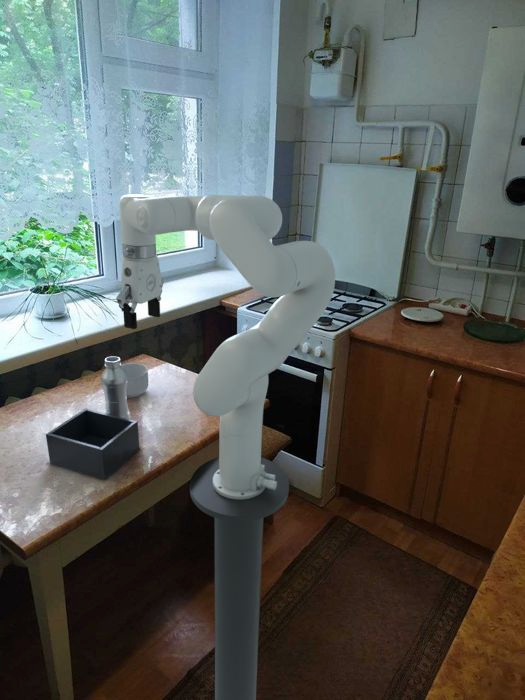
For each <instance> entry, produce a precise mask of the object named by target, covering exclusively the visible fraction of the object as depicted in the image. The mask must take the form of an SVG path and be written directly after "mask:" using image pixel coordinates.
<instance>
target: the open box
mask: <svg viewBox="0 0 525 700" xmlns="http://www.w3.org/2000/svg"><path fill="white" fill-rule="evenodd" d="M45 439H46V445H47V451H48V452H47V453H48V458H49V464H51V465H54V466H57V467H60V468H63V469H67V470H71V471H74V472H77V473H81V474H83V475H87V476H89V477H94V478H97V479H100V480H103V481H105V480H106V479H108V478H109V477H110V476H112V475H113V473H115V472H116V471H117V470H118V469H119V468H120V467H121V466H123V464H125V463H126V462H127V461H128V460H130V458H131V457H133V455H135V454H136V453H138V451H139V450H140V436H139V422H138V421H137V420H134V419H131V420H130V419H126V418H122V417H118V416H114V415H110V414H106V412H101V411H98V410H93V409H89V408H84V409H81V411H78V413H76V414H75V415H73V416H71V417H70V418H68V419H67V420H65V421H63V422H62V423H60V424H59V425H57V426H56V427H54V428H53V429H52V430H50V431H49V432H47V433H46V434H45Z"/></svg>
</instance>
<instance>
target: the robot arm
mask: <svg viewBox="0 0 525 700" xmlns="http://www.w3.org/2000/svg"><path fill="white" fill-rule="evenodd" d="M119 219H120V235H121V236H120V237H121V250H122V261H121V263H122V264H121V291H119V293H118V294H117V296H115V297H116V298H115V300H116V302H117V304H118V307H119V308H120V309H121V312H122V313H123V326H124V328H125V329H126V328H127V329H132V330H137V329H138V320H137V319H138V317H137V316H138V315H137V312H135V311H136V308H137V306H138V304H140V305H141V304H142V305H143V304H144V303H145V304H146V303H147V315H148V316H149V317H155V318H160V317H161V301H162V297H161V296H162V293H163V285H164V280H163V279H162V274H161V266H160V261H159V258H158V255H157V237H156V236H158V235H166V234H170V233H171V234H172V233H177V232H186V231H191V232H193V231H194V232H199V234H200V235H201V236H202V237H204V239H206V240H211V241H215V243H216V244H217V246H218V247H219V248H220V250H221V251H222V253H223V254H224V255H225V257H226V258H227V259H228V260H229V261H230V262H231V264H232V265H233V266H234V267H235V269H236V270H237V271H238V272H239V274H240V275H241V276H242V277H243V279H244V280H245V281H246V282H247V283H248V284H249V286H250V287H251V288H252V289H253V290H255V291H256V292H257V293H258V294H260V295H261V296H264V297H267V298H278V299H276V301H274V303H272V305H271V306H270V307H269V308H268V310H267V312H266V313H265V315H264V316H263V317H262V318H261V319H260V321H259V322H257V323H256V324H255V325H254V326H252V327H250V328H248V329H246V330H244V331H241V332H239V333H237V334H235V335H232V336H230V337H228V338H227V339H225V340H224V341H223V342H221V344H220V345H219V346H218V347H217V348H216V349H215V351H213V353H212V355H211V356H210V357H209V359H208V360H207V362H206V363H205V365H204V366H203V368H202V369H201V371H200V372H199V373H198V375H197V377H196V378H195V380H194V384H193V390H192V395H193V401H194V403H195V405H196V407H197V408H198V409H199V410H200V411H201V413H203V414H205V415H207V416H209V417H214V418H216V417H219V429H218V432H219V433H218V434H219V435H218V436H219V437H218V438H219V441H218V442H219V443H218V445H219V447H218V448H219V449H218V450H219V451H218V452H219V453H218V454H219V455H218V457H219V470H218V471H216V473H215V474H214V476H213V487H214V489H215V490H216V491H217V492H218V493H219V494H220V495H222V496H224V497H227V498H230V499H236V500H244V499H250V498H253V497H255V496H257V495H259V494H260V493H262V492H263V491H264V490H265V488H266V487H267V488H269V489H272V490H275V489H276V487H277V482H276V481H274V480H275V475H272V474H267V473H266V472H264V469H265V465H262V464H261V457H262V440H263V425H264V423H263V422H264V406H265V401H266V397H267V394H268V388H269V374H271V373H272V372H274V371H276V370H277V369H279V368H280V367H281V366H282V365H283V364H284V363H285V361H286V360H287V358H288V357H289V356H290V354H291V353H292V352H294V350H295V349H296V347H297V346H298V345H299V344H300V343H301V342H302V340H303V339H304V338H305V336H306V335H307V334H308V333H309V331H310V330H311V329H312V328H313V327H314V325H315V324H316V323H317V322H318V321H319V319H320V318H321V316H322V315H323V314H324V313H325V311H326V309H327V307H328V306H329V304H330V302H331V300H332V297H333V294H334V291H335V285H336V270H335V266H334V265H335V264H334V261H333V259H332V256H331V254H330V253H329V251H328V250H327V249H326V248H325V247H324V246H323V245H321V244H320V243H318V242H316V241H313V240H296V241H291V242H286V243H282V244H277V245H274V244H273V243H272V241H271V240H272V239H273V238H274V237H275V236H276V235H278V233H279V232H280V230H281V228H282V225H283V213H282V210H281V208H280V206H279V205H278V204H277V203H276V202H275V201H274V200H273V199H271V198H268V197H266V196H263V195H228V194H227V195H222V194H221V195H219V194H218V195H217V194H209V195H174V196H173V195H172V196H159V197H152V196H149V195H147V194H137V193H136V194H133V193H132V194H125V195H124V194H123V195H122V196H121V197H120V198H119ZM130 304H131V305H130ZM267 479H268V480H267Z"/></svg>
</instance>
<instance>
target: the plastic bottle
mask: <svg viewBox="0 0 525 700" xmlns="http://www.w3.org/2000/svg"><path fill="white" fill-rule="evenodd" d="M121 365H122V364H121V358H120V357H119V356H107V357H106V358H105V359H104V368H105V369H104V370H103V372H102V373H101V375H100V383H101V387H102V391H103V394H104V401H105V413H106V414H110V415H114V416H118V417H122V418H126V419H130V420H132V418H131V413H130V410H129V406H128V401H127V400H128V398H127V397H126V388H127V376H126V373H125V372H124V371H123V370H122V369H121V368H120V366H121Z"/></svg>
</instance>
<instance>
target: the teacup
mask: <svg viewBox="0 0 525 700" xmlns="http://www.w3.org/2000/svg"><path fill="white" fill-rule="evenodd" d="M120 368H121V369H122V370H123V371H124V372H125V373H126V376H127V388H126V397H127V399H132V398H137V397H140V396H141V395H142V394H143V393H145V392H146V391H147V390H148V388H149V368H148V366H147V365H146V364H143V363H139V362H128V363H123V364H121V366H120Z"/></svg>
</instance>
